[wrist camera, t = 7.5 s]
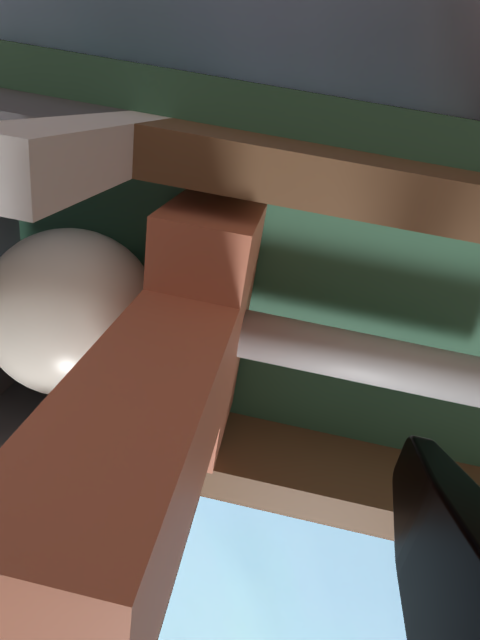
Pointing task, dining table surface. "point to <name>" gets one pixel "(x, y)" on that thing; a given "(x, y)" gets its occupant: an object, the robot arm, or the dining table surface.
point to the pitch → (270, 251)
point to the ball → (60, 301)
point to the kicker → (162, 426)
